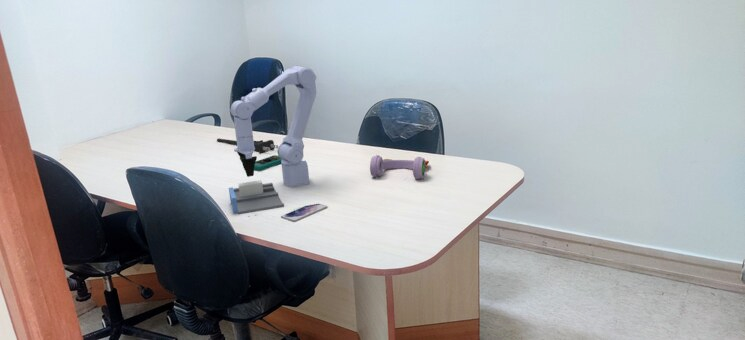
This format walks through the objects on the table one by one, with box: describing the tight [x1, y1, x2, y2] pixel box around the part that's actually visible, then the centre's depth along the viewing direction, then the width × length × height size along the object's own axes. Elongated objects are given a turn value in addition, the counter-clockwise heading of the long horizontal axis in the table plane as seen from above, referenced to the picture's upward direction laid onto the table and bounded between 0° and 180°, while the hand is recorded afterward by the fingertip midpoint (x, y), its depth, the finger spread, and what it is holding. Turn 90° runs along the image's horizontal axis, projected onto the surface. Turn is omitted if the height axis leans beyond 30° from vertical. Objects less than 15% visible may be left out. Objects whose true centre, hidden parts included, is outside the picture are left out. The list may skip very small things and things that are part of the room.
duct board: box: [228, 182, 285, 215], centre depth 190 cm, size 16×24×6 cm
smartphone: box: [280, 203, 329, 223], centre depth 179 cm, size 7×1×15 cm
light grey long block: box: [238, 179, 275, 197], centre depth 195 cm, size 12×3×4 cm, turn 109°
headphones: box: [369, 154, 430, 180], centre depth 212 cm, size 20×10×20 cm
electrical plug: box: [216, 138, 279, 154], centre depth 260 cm, size 9×42×5 cm, turn 51°
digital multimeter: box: [254, 154, 282, 172], centre depth 230 cm, size 7×15×3 cm, turn 141°
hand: (248, 173), depth 193 cm, fingers open, 7 cm apart
